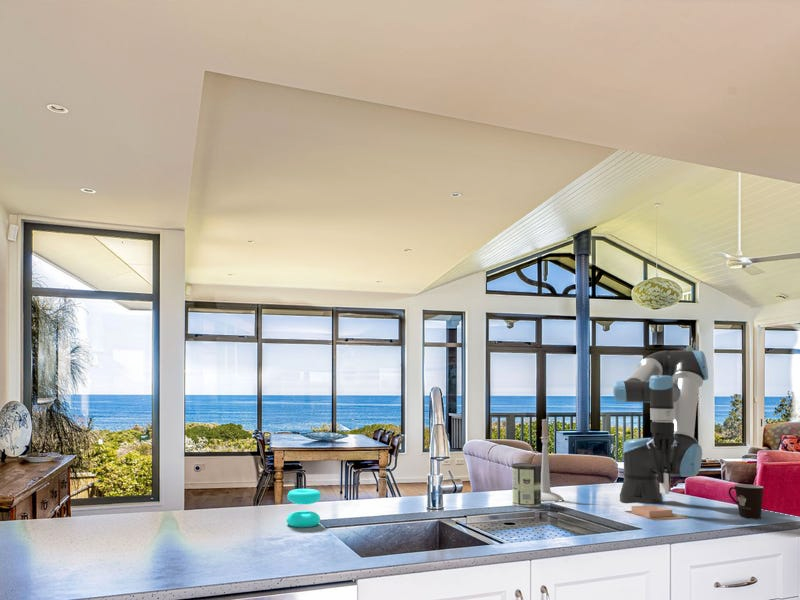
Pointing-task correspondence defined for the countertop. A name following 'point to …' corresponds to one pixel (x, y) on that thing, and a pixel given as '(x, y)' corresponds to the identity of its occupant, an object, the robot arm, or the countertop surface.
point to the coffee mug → (748, 500)
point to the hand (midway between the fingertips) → (664, 493)
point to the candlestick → (546, 468)
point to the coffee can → (526, 484)
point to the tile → (651, 511)
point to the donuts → (303, 516)
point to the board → (674, 516)
